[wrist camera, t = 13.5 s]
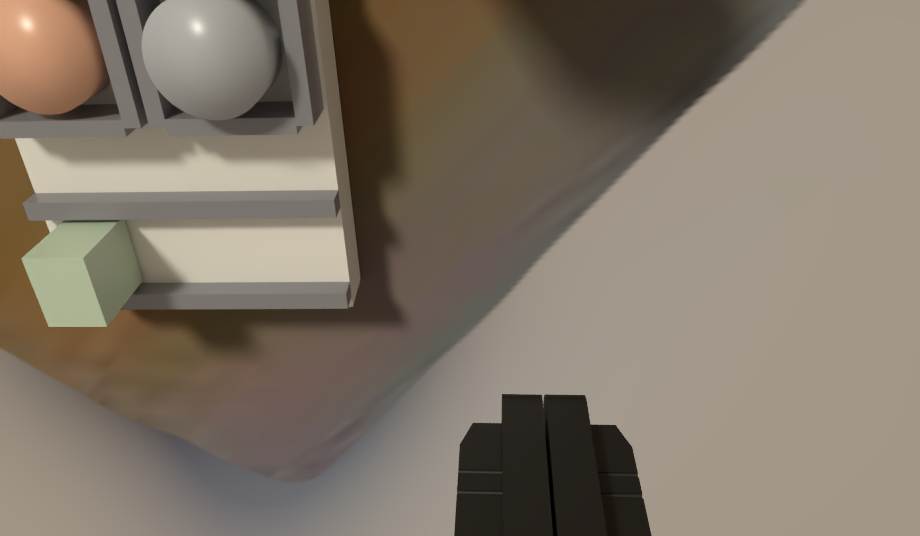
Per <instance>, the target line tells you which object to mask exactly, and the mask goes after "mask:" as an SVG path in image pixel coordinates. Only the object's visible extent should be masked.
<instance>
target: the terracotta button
mask: <svg viewBox="0 0 920 536" xmlns="http://www.w3.org/2000/svg"><path fill="white" fill-rule="evenodd" d="M110 82H111V81H110V78H109V74H108V70H107V67H106V63H105V60H104V56H103V53H102V49H101V46H100V42H99V39H98V35H97V32H96V28H95V25H94V21H93V18H92V14H91V11H90V7H89V4H88V0H0V95H1V96H3V97H4V98H5V99H7V100H8V101H10V102H11V103H13V104H14V105H16V106H18V107H20V108H23V109H25V110H28V111H31V112H34V113H39V114H47V115H53V114H61V113H65V112H68V111H70V110H72V109H74V108H76V107H77V106H79V105H80V104H82V103H84V102H85V101H87V100H88V99H90V98H91V97H93V96H94V95H96V94H98V93H99V92H101V91H102V90H103V89H104V88H106V87H107V86H108V84H109V83H110Z"/></svg>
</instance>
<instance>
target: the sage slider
mask: <svg viewBox="0 0 920 536" xmlns="http://www.w3.org/2000/svg"><path fill="white" fill-rule="evenodd" d="M22 261H23V264H24V266H25V269H26V271H27V274H28V276H29V279H30V281H31V284H32V286H33V289H34V291H35V294H36V296H37V299H38V301H39V304H40V306H41V309H42V311H43V313H44V316H45V318H46V321H47V323H48V326H49V327H107V326H108V325H109V323H110V322H111V321H112V319H113V318H114V317H115V316H116V314H117V313H118V312H119V311H120V309H121V308H122V307H123V305H124V304H125V303H126V302H127V300H128V299H129V298H130V296H131V295H132V294H133V293H134V291H135V290H136V289H137V287H138V286H139V285H140V284H141V282H142V281H143V278H142V275H141V272H140V268H139V265H138V262H137V258H136V255H135V252H134V249H133V245H132V242H131V239H130V236H129V232H128V229H127V226H126V222H125V220H64V221H63V222H62V223H61V224H60V225H58V226H57V227H56V228H55V229H54V230H53V231H52V232H51V233H49V234H48V235H47V236H46V237H45V238H44V239H43V240H42V241H41V242H39V243H38V244H37V245H36V246H35V247H34V248H33V249H32V250H30V251H29V252H28V253H27V254H26V255H25V256H24V257H23V258H22Z"/></svg>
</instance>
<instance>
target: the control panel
mask: <svg viewBox="0 0 920 536" xmlns="http://www.w3.org/2000/svg"><path fill="white" fill-rule="evenodd" d="M164 1H166V0H88V4H89V7H90V11H91V14H92V18H93V21H94V25H95V28H96V32H97V35H98V39H99V42H100V46H101V49H102V53H103V56H104V60H105V63H106V67H107V70H108V74H109V78H110V81H111V82H110V83H109V84H108V86H107V87H106V88H104V89H103V90H102V91H101V92H99V93H98V94H96V95H94V96H93V97H91V98H90V99H88V100H87V101H85V102H84V103H82V104H80V105H79V106H77V107H76V108H74V109H72V110H70V111H68V112H65V113H61V114H53V115H47V114H39V113H34V112H31V111H28V110H25V109H23V108H20V107H18V106H16V105H14V104H13V103H11V102H10V101H8V100H7V99H5V98H4V97H3V96H1V95H0V139H2V138H15V140H16V142H17V145H18V148H19V150H20V153H21V156H22V159H23V161H24V164H25V167H26V169H27V172H28V175H29V177H30V180H31V183H32V186H33V188H34V191H35V194H34V195H32V196H31V197H30V198H28V199H27V200H26V201H25V202H23V206H24V209H25V211H26V214H27V216H28V219H29V221H43V220H45V221H46V223H47V226H48V229H49V231H50V233H51V232H52V231H53V230H54V229H55V228H56V227H57V226H58V225H60V224H61V223H62V222H63V221H64V220H125V222H126V226H127V229H128V232H129V236H130V239H131V242H132V245H133V249H134V252H135V255H136V258H137V262H138V265H139V268H140V272H141V275H142V278H143V281H142V282H141V284H140V285H139V286H138V287H137V289H136V290H135V291H134V293H133V294H132V295H131V296H130V298H129V299H128V300H127V302H126V303H125V304H124V305H123V307H122V308H121V309H120V310H165V309H348V307H353V304H354V301H355V297H356V294H357V290H358V287H359V283H360V280H361V278H360V269H359V260H358V252H357V243H356V234H355V225H354V217H353V208H352V199H351V191H350V182H349V173H348V165H347V156H346V147H345V138H344V130H343V121H342V112H341V104H340V95H339V86H338V78H337V69H336V60H335V51H334V43H333V34H332V25H331V17H330V8H329V0H256V1H257V2H258V3H259V4H260V5H261V6H262V7H263V8H264V9H265V10H266V11H267V13H268V14H269V15H270V17H271V19H272V20H273V22H274V24H275V26H276V28H277V30H278V33H279V36H280V40H281V45H282V62H281V68H280V71H279V74H278V76H277V78H276V80H275V81H274V83H273V84H272V86H271V87H270V88H269V89H268V90H267V92H266V93H265V94H264V95H263V96H262V97H261V98H260V100H259V101H258V102H257V103H256V104H255V105H254V106H253V107H252V108H251V109H250V110H248V111H247V112H246V113H244V114H242V115H240V116H238V117H235V118H232V119H227V120H207V119H202V118H198V117H195V116H192V115H190V114H188V113H186V112H184V111H182V110H180V109H179V108H177V107H176V106H174V105H173V104H172V103H170V102H169V101H168V100H167V99H166V98H165V97H164V96H163V95H162V94H161V93H160V92H159V90H158V89H157V88H156V86H155V85H154V83H153V82H152V80H151V78H150V76H149V74H148V72H147V70H146V67H145V64H144V60H143V55H142V35H143V30H144V27H145V24H146V22H147V20H148V18H149V16H150V15H151V13H152V12H153V11H154V10H155V9H156V8H157V7H158V6H159V5H160V4H161V3H163V2H164Z"/></svg>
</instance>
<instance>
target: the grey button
mask: <svg viewBox="0 0 920 536" xmlns="http://www.w3.org/2000/svg"><path fill="white" fill-rule="evenodd" d="M142 55H143V60H144V64H145V67H146V70H147V72H148V74H149V76H150V78H151V80H152V82H153V83H154V85H155V86H156V88H157V89H158V90H159V92H160V93H161V94H162V95H163V96H164V97H165V98H166V99H167V100H168V101H169V102H170V103H172V104H173V105H174V106H176V107H177V108H179V109H180V110H182V111H184V112H186V113H188V114H190V115H192V116H195V117H198V118H202V119H207V120H227V119H232V118H235V117H238V116H240V115H242V114H244V113H246V112H247V111H248V110H250V109H251V108H252V107H253V106H254V105H255V104H256V103H257V102H258V101H259V100H260V98H261V97H262V96H263V95H264V94H265V93H266V92H267V90H268V89H269V88H270V87H271V86H272V84H273V83H274V81H275V80H276V78H277V76H278V74H279V71H280V68H281V62H282V45H281V40H280V36H279V33H278V30H277V28H276V26H275V24H274V22H273V20H272V19H271V17H270V15H269V14H268V13H267V11H266V10H265V9H264V8H263V7H262V6H261V5H260V4H259V3H258V2H257V1H256V0H166V1H164V2H163V3H161V4H160V5H159V6H158V7H157V8H156V9H155V10H154V11H153V12H152V13H151V15H150V16H149V18H148V20H147V22H146V24H145V27H144V30H143V35H142Z"/></svg>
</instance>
